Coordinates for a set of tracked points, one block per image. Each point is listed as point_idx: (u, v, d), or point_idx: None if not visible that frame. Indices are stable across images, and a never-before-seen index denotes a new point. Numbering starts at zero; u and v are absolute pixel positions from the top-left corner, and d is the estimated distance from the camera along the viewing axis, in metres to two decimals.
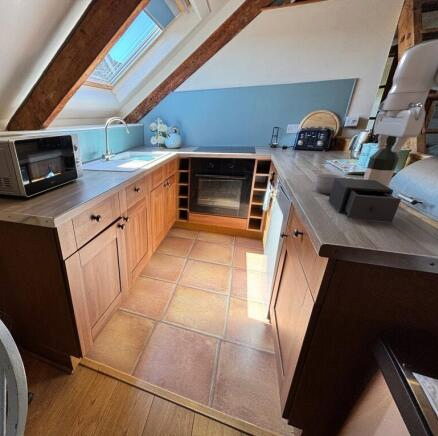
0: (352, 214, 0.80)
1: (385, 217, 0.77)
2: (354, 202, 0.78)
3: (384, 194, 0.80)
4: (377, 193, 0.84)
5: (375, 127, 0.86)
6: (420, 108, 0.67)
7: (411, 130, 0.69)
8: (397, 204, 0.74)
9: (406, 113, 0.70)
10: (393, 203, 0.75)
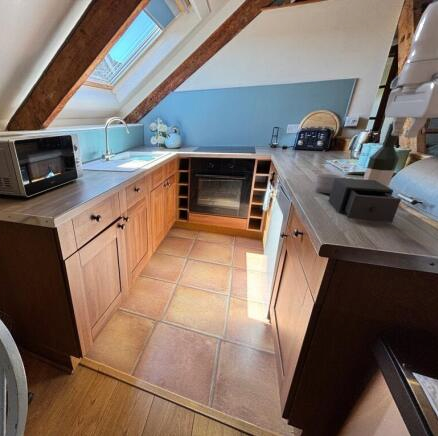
0: (352, 214, 0.80)
1: (385, 217, 0.77)
2: (354, 202, 0.78)
3: (384, 194, 0.80)
4: (377, 193, 0.84)
5: (387, 109, 0.69)
6: None
7: (435, 108, 0.53)
8: (397, 204, 0.74)
9: (429, 86, 0.54)
10: (393, 203, 0.75)
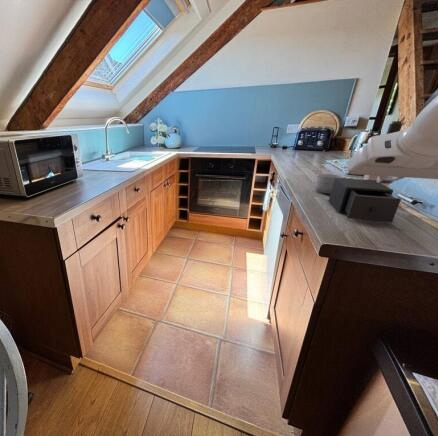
0: (352, 214, 0.80)
1: (385, 217, 0.77)
2: (354, 202, 0.78)
3: (384, 194, 0.80)
4: (377, 193, 0.84)
5: (355, 170, 0.63)
6: None
7: None
8: (397, 204, 0.74)
9: None
10: (393, 203, 0.75)
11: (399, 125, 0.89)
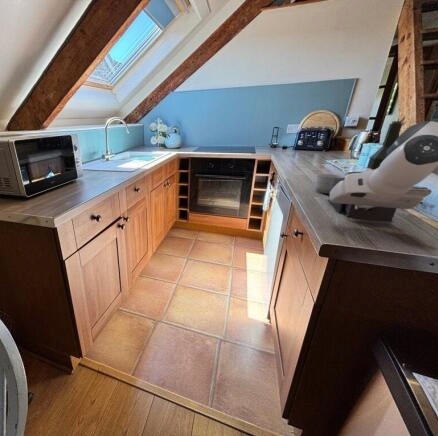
0: (351, 214, 0.80)
1: (384, 216, 0.77)
2: None
3: None
4: None
5: (336, 200, 0.75)
6: (430, 192, 0.64)
7: None
8: None
9: (415, 198, 0.65)
10: None
11: (399, 125, 0.89)
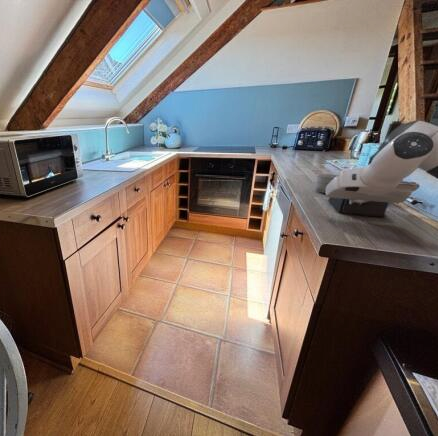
0: (346, 208, 0.85)
1: (377, 211, 0.82)
2: None
3: None
4: None
5: (331, 195, 0.79)
6: (418, 186, 0.69)
7: None
8: None
9: (404, 192, 0.70)
10: None
11: (399, 125, 0.89)
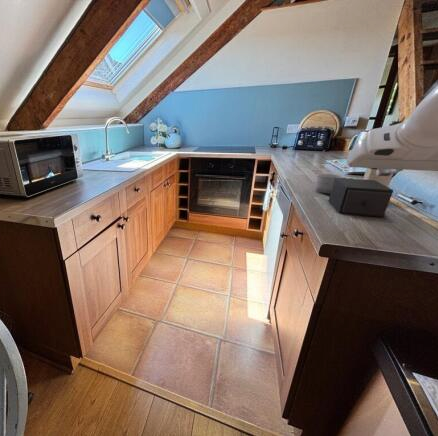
0: (346, 208, 0.85)
1: (377, 211, 0.82)
2: (348, 197, 0.83)
3: None
4: None
5: (355, 163, 0.65)
6: None
7: None
8: (388, 198, 0.79)
9: None
10: (384, 197, 0.80)
11: None
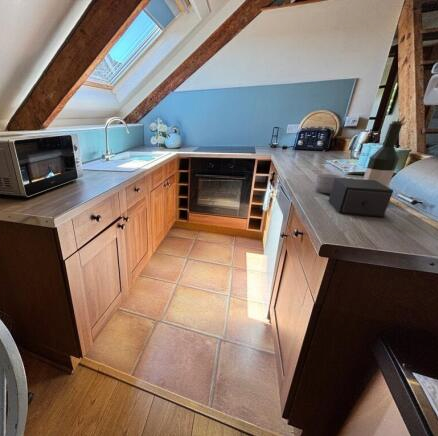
0: (346, 208, 0.85)
1: (377, 211, 0.82)
2: (348, 197, 0.83)
3: None
4: None
5: (426, 96, 0.64)
6: None
7: None
8: (388, 198, 0.79)
9: None
10: (384, 197, 0.80)
11: (399, 125, 0.89)
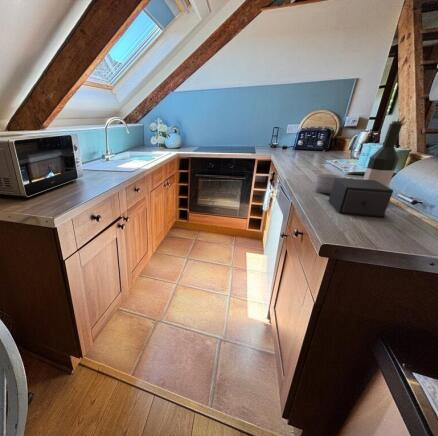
0: (346, 208, 0.85)
1: (377, 211, 0.82)
2: (348, 197, 0.83)
3: None
4: None
5: (432, 92, 0.64)
6: None
7: None
8: (388, 198, 0.79)
9: None
10: (384, 197, 0.80)
11: (399, 125, 0.89)
